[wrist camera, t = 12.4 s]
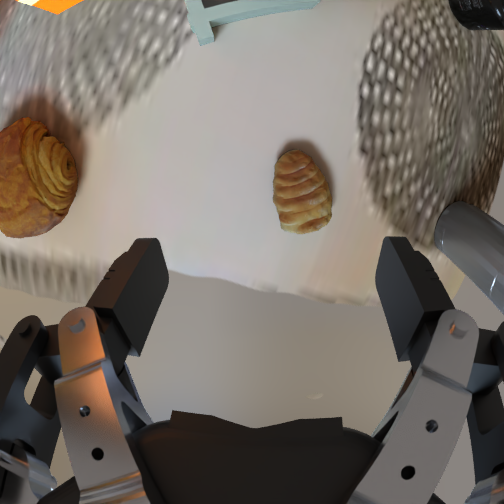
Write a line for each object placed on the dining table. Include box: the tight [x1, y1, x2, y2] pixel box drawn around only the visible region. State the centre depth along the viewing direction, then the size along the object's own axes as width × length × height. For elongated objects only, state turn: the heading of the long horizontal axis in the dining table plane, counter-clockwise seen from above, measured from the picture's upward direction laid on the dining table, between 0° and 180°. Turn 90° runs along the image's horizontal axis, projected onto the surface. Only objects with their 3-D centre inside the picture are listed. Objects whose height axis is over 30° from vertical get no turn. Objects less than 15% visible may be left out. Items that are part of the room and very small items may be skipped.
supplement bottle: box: [449, 0, 504, 30], centre depth 15 cm, size 7×7×12 cm
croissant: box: [0, 117, 78, 238], centre depth 24 cm, size 14×16×8 cm
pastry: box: [273, 149, 332, 234], centre depth 31 cm, size 9×7×4 cm
